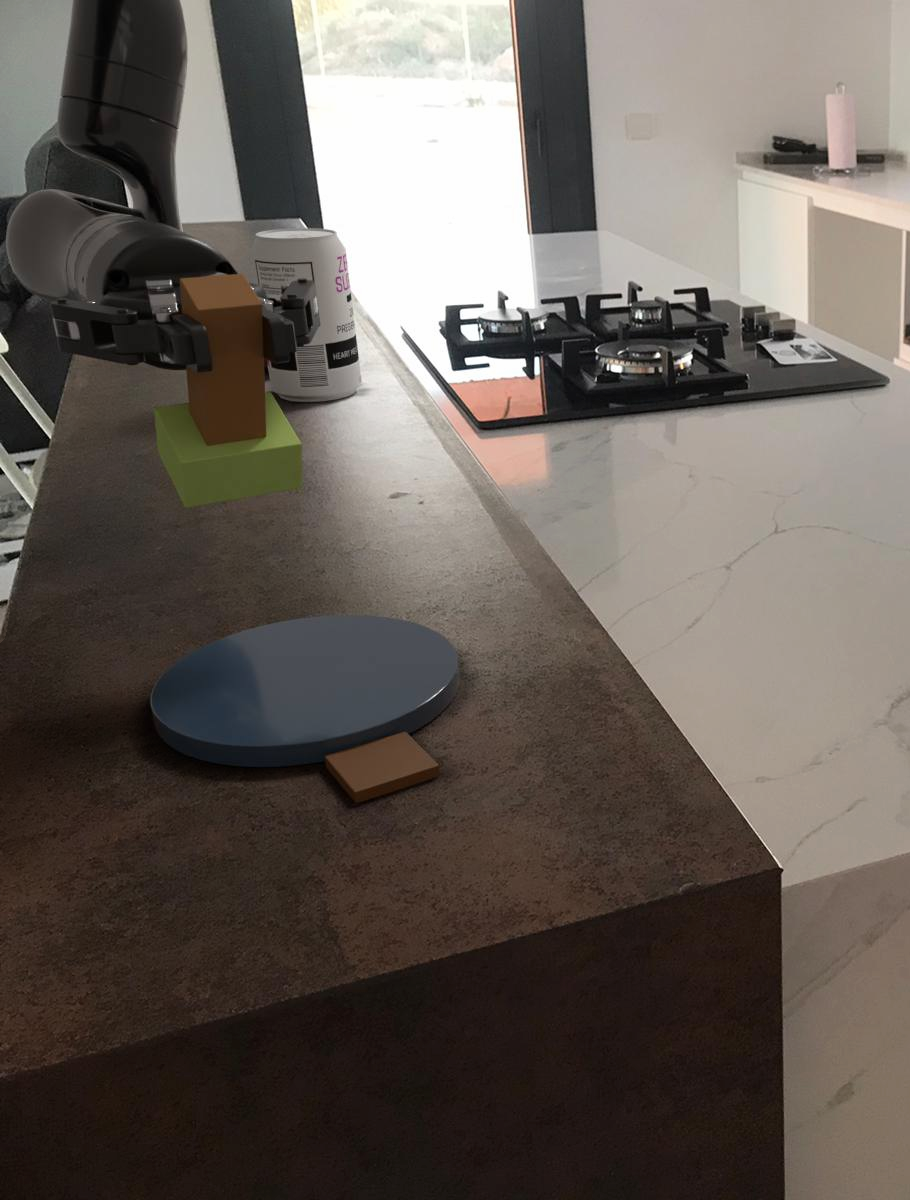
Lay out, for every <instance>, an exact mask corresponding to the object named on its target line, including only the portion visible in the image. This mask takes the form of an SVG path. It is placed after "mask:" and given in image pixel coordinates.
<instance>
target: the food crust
mask: <svg viewBox="0 0 910 1200" xmlns="http://www.w3.org/2000/svg"><path fill="white" fill-rule="evenodd" d="M324 758H325V761H324V764H325V768H326V769H327V771H328V772H329V773H330V774H331V775H332V776H333V777H334V779H335V780H336V781H337V782H338V784H339V785H340V786H341V787H342V788H343V790H344V791H345V792H346V793H347V794H348V796H349V797H350V798H351V799H352V800H353V802H354V803H355V804H359V803H362V802H365V801H368V800H371V799H374V798H377V797H381V796H383V795H386V794H390V793H392V792H396V791H399V790H401V789H406V788H407V787H410V786H413V785H417V784H421V783H423V782H427V781H429V780H432V779H433V780H434V779H435V778H439V777H440V776H441V771H440V765H439V763H437V762H436V761H435V760H434V758H433V757H431V756H430V754H429V753H428V752H426V751H425V749H423V748H422V747H421V746H420V744H418V743H417V741H416V740H415V739H413V737H412V736H411V735H410V734H407V732H402V733H399V734H395V735H392V736H389V737H386V738H382V739H379V740H376V741H372V742H369V743H366V744H362V745H359V746H356V747H352V748H349V749H346V750H342V751H339V752H336V753H332V754H329V755H326V756H324Z"/></svg>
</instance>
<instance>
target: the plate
mask: <svg viewBox="0 0 910 1200" xmlns="http://www.w3.org/2000/svg"><path fill="white" fill-rule="evenodd" d="M460 680H461V675H460V665H459V657H458V653H457V651H456V649H455V647H454V645H453V644H452V643H451V642H450V641H449V639H447V637H445V636H444V635H442V634H441V633H439V632H438V631H436V630H434V629H432V628H429V627H428V626H425V625H422V624H419V623H416V622H414V621H410V620H409V621H408V620H405V619H401V618H394V617H389V616H380V615H368V614H366V615H365V614H335V615H334V614H333V615H320V616H309V617H300V618H294V619H289V620H283V621H278V622H273V623H268V624H264V625H260V626H256V627H253V628H247V629H245V630H242V631H240V632H239V631H238V632H236V633H233V634H230V635H227V636H224V637H222V638H219V639H217V640H214V641H212V642H210V643H208V644H205V645H203V646H201V647H199V648H197V649H195V650H193V651H192V652H190V653H188V654H186V655H185V656H183V657H182V658H180V659H179V660H177V661H176V662H174V663H173V664H172V665H170V667H168V668H167V669H166V670H165V671H164V672H163V673H162V674H161V676H159V678H158V679H157V680H156V682H155V684H154V685H153V688H152V690H151V694H150V697H149V698H150V699H149V700H150V701H149V702H150V711H151V715H152V719H153V724H154V725H153V726H154V727H155V730H156V732H157V735H158V736H159V737H160V738H161V739H162V741H163V742H164V743H165V744H166V745H168V746H169V747H171V749H173V750H175V751H176V752H179V753H180V754H183V755H185V756H187V757H190V758H193V759H196V760H200V761H201V762H207V763H212V764H217V765H222V766H223V765H224V766H232V767H243V768H280V767H281V768H282V767H294V766H303V765H309V764H317V763H325V758H324V756H326V755H329V754H332V753H336V752H339V751H342V750H346V749H349V748H352V747H356V746H359V745H362V744H366V743H369V742H372V741H376V740H379V739H382V738H386V737H389V736H392V735H395V734H399V733H402V732H407V734H408V735H410V734H412V733H414V732H416V731H418V730H419V729H421V728H423V727H424V726H426V725H428V724H429V723H430V722H432V721H433V720H434V719H436V718H437V717H439V715H441V714H442V713H443V712H444V711H445V710H446V709H447V707H448V706H450V704H451V703H452V701H454V698H455V697H456V695H457V693H458V690H459V688H460Z"/></svg>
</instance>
